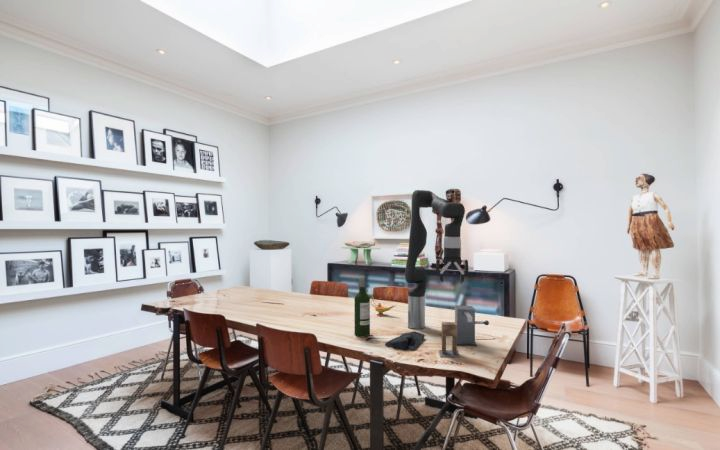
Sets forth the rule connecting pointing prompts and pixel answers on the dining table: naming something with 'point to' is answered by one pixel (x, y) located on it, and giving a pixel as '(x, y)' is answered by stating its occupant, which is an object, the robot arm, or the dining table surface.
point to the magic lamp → (381, 308)
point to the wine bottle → (362, 311)
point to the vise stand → (466, 325)
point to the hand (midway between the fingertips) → (451, 282)
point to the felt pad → (449, 354)
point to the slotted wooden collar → (449, 330)
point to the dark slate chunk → (406, 341)
